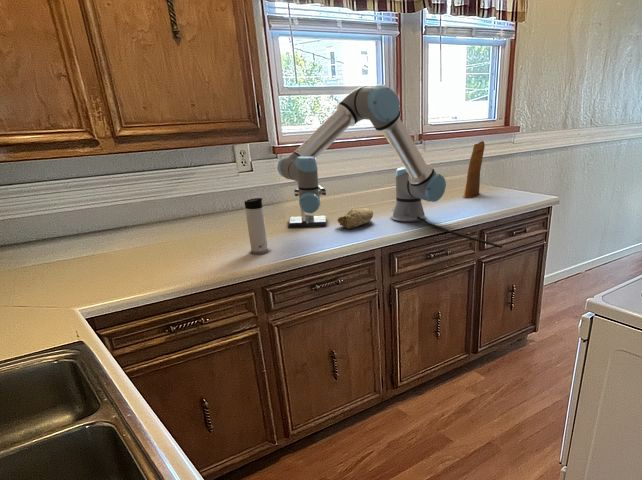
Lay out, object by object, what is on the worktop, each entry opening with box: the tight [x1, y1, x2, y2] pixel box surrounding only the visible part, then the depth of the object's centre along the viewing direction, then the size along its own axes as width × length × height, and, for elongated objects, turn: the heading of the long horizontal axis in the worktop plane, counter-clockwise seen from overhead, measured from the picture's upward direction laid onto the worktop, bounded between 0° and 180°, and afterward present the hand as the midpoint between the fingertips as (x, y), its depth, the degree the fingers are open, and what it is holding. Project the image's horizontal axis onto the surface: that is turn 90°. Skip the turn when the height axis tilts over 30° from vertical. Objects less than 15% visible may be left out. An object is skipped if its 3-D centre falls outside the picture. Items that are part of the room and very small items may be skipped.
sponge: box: [336, 207, 374, 230], centre depth 233 cm, size 13×8×20 cm
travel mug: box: [244, 197, 269, 255], centre depth 193 cm, size 6×7×20 cm
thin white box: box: [299, 206, 315, 222], centre depth 233 cm, size 10×2×8 cm, turn 168°
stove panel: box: [289, 215, 327, 229], centre depth 236 cm, size 16×14×2 cm
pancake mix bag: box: [463, 140, 486, 199], centre depth 284 cm, size 7×19×28 cm, turn 148°
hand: (310, 184), depth 224 cm, fingers closed
